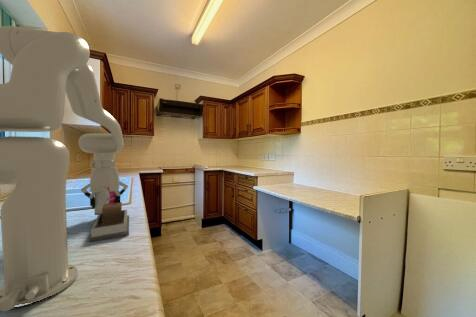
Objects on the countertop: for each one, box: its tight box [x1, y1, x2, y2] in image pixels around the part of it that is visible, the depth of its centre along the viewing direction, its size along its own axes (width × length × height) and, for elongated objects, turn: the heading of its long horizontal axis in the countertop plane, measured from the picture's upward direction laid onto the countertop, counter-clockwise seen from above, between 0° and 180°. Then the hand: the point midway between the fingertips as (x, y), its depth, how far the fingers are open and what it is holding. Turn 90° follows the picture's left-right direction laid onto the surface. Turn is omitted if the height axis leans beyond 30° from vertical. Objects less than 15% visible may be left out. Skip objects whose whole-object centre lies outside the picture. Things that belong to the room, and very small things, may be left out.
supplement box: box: [93, 188, 117, 216], centre depth 85 cm, size 6×6×12 cm
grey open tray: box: [88, 201, 130, 243], centre depth 73 cm, size 18×11×8 cm, turn 28°
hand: (105, 206), depth 85 cm, fingers closed on supplement box, 8 cm apart
